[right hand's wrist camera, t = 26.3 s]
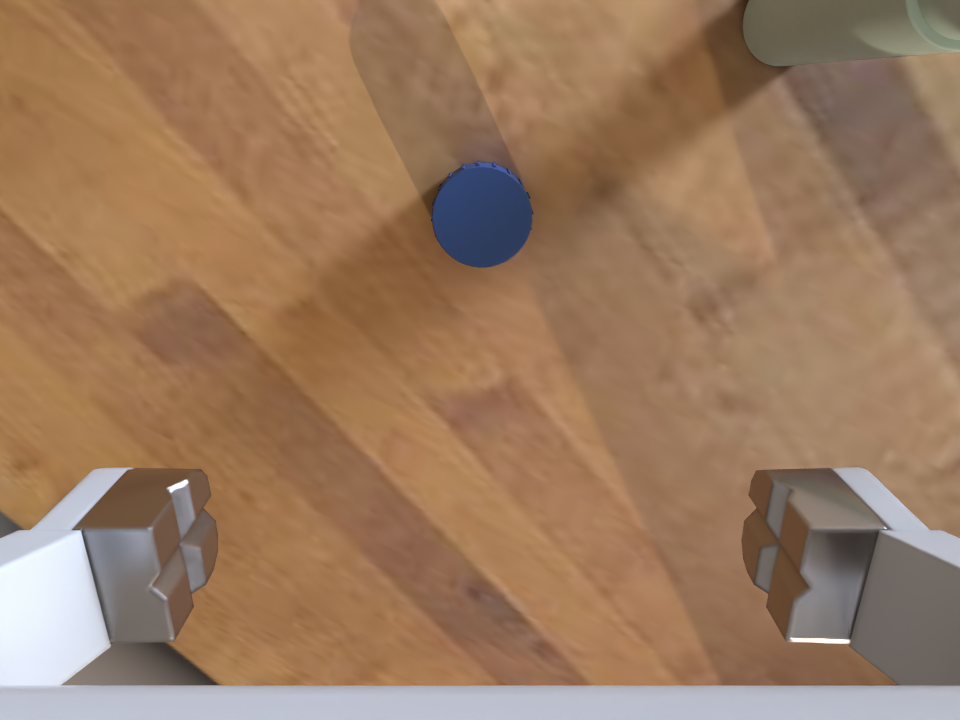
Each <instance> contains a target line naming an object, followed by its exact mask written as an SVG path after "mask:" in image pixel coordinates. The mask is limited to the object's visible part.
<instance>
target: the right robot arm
mask: <svg viewBox="0 0 960 720" xmlns="http://www.w3.org/2000/svg"><path fill="white" fill-rule="evenodd" d="M210 497H211V491H210V487H209V482H208V477H207V475H206V474H205V473H204V472H203V471H202V470H201V469H165V468H134V469H133V468H131V467H124V468H99V469H93V470H92V471H91V472H90V473H89V474H88V475H87V476H86V477H85V478H84V479H83V480H82V481H81V482H80V483H79V484H78V485H77V486H76V487H75V488H74V489H72V490H71V491H70V492H69V493H68V494H67V495H66V496H65V497H64V498H63V499H62V500H61V501H60V502H59V503H58V504H57V505H56V506H55V507H54V508H53V509H52V510H51V511H50V512H49V513H48V514H47V515H46V516H44V517H43V518H42V519H41V520H40V521H39V522H38V523H37V524H36V525H35V526H34V527H33V528H32V529H31V530H19V531H16V532H14V533H12V534H9V535H7V536H5V537H2V538H0V720H960V538H958V537H955V536H953V535H951V534H949V533H946V532H944V531H942V530H929V529H928V528H927V527H926V526H925V525H924V524H923V523H922V522H921V521H920V520H919V519H918V518H917V517H916V516H915V515H914V514H913V513H911V512H910V511H909V510H908V509H907V508H906V507H905V506H904V505H903V504H902V503H901V502H900V501H899V500H898V499H897V498H896V497H895V496H894V495H893V494H892V493H891V492H890V491H889V490H888V489H887V488H886V487H885V486H884V485H883V484H882V483H880V482H879V481H878V480H877V479H876V478H875V477H874V476H873V475H872V474H871V473H870V472H869V471H868V470H865V469H863V468H860V467H850V468H818V469H778V470H757V471H756V472H755V474H754V476H753V478H752V480H751V485H750V491H749V497H750V498H751V500H752V501H753V503H754V504H755V506H756V507H757V508H756V509H755V510H754V511H753V512H752V513H751V515H750V516H749V517H748V518H747V519H746V520H745V521H744V527H743V534H742V550H743V559H744V563H745V566H746V569H747V572H748V574H749V576H750V578H751V580H752V582H753V584H754V585H755V586H757V587H759V588H760V589H762V590H763V591H765V592H766V593H768V600H767V605H766V607H767V609H768V611H769V612H770V614H771V616H772V618H773V620H774V621H775V623H776V625H777V627H778V628H779V630H780V632H781V634H782V635H783V637H784V639H785V641H786V642H815V643H850V644H849V647H851V648H852V649H853V650H855V651H856V652H857V653H858V654H860V655H861V656H862V657H864V658H865V659H866V660H867V661H869V662H870V663H871V664H873V665H874V666H875V667H877V668H878V669H879V670H880V671H882V672H883V673H884V674H886V675H887V676H888V677H889V678H891V679H892V680H893V681H895V682H896V683H897V684H899V685H900V686H60V685H62V684H63V683H64V682H65V681H67V680H68V679H69V678H71V677H72V676H73V675H75V674H76V673H77V672H78V671H80V670H81V669H82V668H84V667H85V666H86V665H88V664H89V663H90V662H91V661H93V660H94V659H95V658H97V657H98V656H99V655H100V654H102V653H103V652H104V651H106V650H107V649H108V648H110V647H111V645H110V643H144V642H174V641H175V639H176V637H177V636H178V634H179V632H180V630H181V628H182V627H183V625H184V623H185V621H186V620H187V618H188V616H189V614H190V612H191V611H192V609H193V607H194V605H193V600H192V593H194V592H195V591H197V590H198V589H200V588H201V587H203V586H205V585H206V584H207V582H208V580H209V578H210V576H211V574H212V572H213V570H214V566H215V561H216V557H217V553H218V532H217V526H216V521H215V520H214V519H213V518H212V517H211V516H210V515H209V513H208V512H207V511H206V510H205V509H204V508H203V507H204V506H205V504H206V503H207V501H208V500H209V498H210Z"/></svg>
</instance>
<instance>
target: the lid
mask: <svg viewBox="0 0 960 720" xmlns="http://www.w3.org/2000/svg"><path fill="white" fill-rule="evenodd" d="M438 191H439V192H438V194H437V196H436V199H434V201H433V203H432V205H433V211H432V219H431V221H432V223H433V229H434V232H435V236H436V238H437V240H438V242H439V243H440V245H441V246H442V248H443V249H444V250H445V251H446V252H447V253H448V254H449V255H450V256H451V257H452V258H454V259H455V260H457V261H459V262H460V263H463V264H465V265H469V266H472V267H492V266H496V265H499V264H501V263H504V262H506V261H507V260H509V259H510V258H512V257H513V256H514V255H516V254H517V253H518V252H519V251H520V249H521V248H522V247H523V245H524V244H525V242H526V240H527V238H528V236H529V233H530V230H531V225H532V214H533V211H532V209H531V204H530V201H529V199H530V196H529V194H528V192H526V191H525V189H524V187H523V185H522V182H521V180H520V179H517V177H516V176H515V175H514V174H512V173H511V172H510V169H505V168H503V167H501V166H499V165H496V164H495V162H493V164H492V163H486V162H480V161H478V163H472V164H468V165H462V167H461V168H459V169H457V170H456V171H454V172H453V173H449V176H448V178H447V179H446V180H445V181H444V183H443V184H442V185H441V184H440V186H439V188H438Z"/></svg>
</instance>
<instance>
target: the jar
mask: <svg viewBox="0 0 960 720" xmlns="http://www.w3.org/2000/svg"><path fill="white" fill-rule="evenodd" d="M743 35H744V39H745V42H746V45H747V47H748V49H749V50H750V52H751V53H752V54H753V55H754V56H755V57H756V58H757V59H758V60H759V61H761V62H763V63H765V64H768V65H771V66H791V65H803V64H816V63H828V62H840V61H853V60H865V59H877V58H890V57H902V56H914V55H927V54H939V53H951V52H960V0H749V2H748V4H747V6H746V9H745V12H744V17H743Z"/></svg>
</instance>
